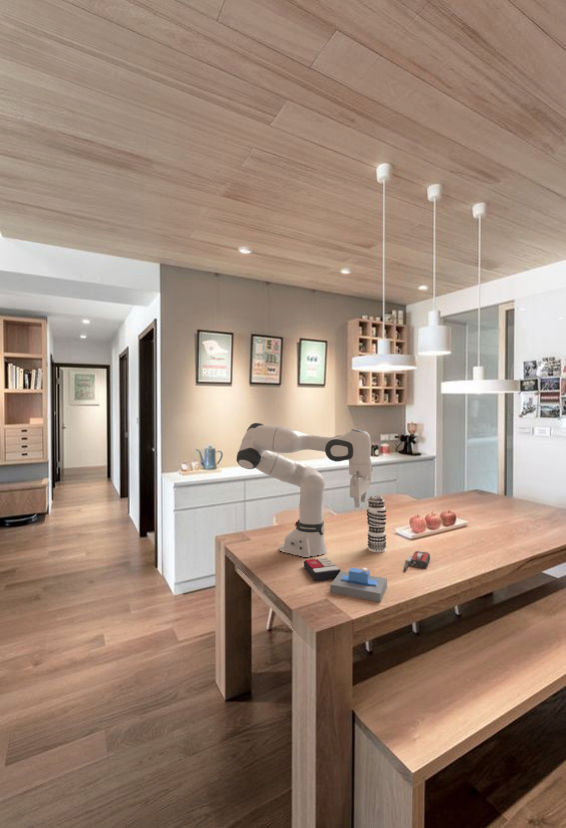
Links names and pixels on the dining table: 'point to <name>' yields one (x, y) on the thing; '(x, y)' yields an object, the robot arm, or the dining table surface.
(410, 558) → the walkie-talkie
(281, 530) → the dining table surface
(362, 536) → the dining table surface
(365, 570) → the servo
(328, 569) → the calculator
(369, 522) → the white patterned cylinder
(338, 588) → the chassis deck
